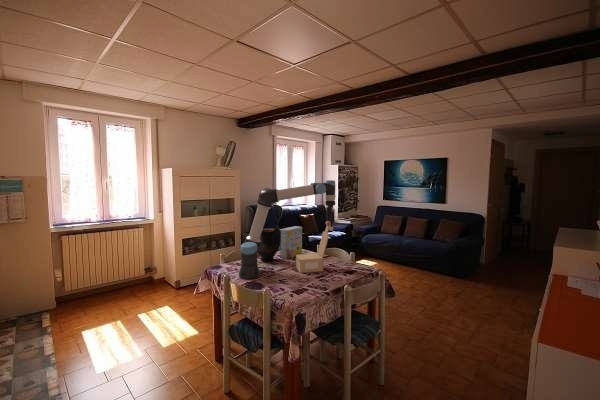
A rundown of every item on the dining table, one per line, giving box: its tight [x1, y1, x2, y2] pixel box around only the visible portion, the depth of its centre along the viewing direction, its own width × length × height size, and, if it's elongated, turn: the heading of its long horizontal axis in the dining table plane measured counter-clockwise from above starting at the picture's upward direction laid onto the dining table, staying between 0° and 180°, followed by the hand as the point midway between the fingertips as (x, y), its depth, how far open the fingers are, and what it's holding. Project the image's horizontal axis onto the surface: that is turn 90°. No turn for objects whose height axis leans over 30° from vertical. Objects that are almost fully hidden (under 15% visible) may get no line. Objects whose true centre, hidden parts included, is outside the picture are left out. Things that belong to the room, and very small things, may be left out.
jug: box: [257, 226, 281, 263], centre depth 241 cm, size 21×18×30 cm
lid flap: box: [317, 220, 330, 258], centre depth 223 cm, size 27×13×4 cm
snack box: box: [280, 225, 303, 260], centre depth 256 cm, size 22×9×26 cm, turn 143°
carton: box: [295, 252, 324, 274], centre depth 221 cm, size 18×14×10 cm
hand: (330, 229), depth 223 cm, fingers closed on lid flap, 5 cm apart
